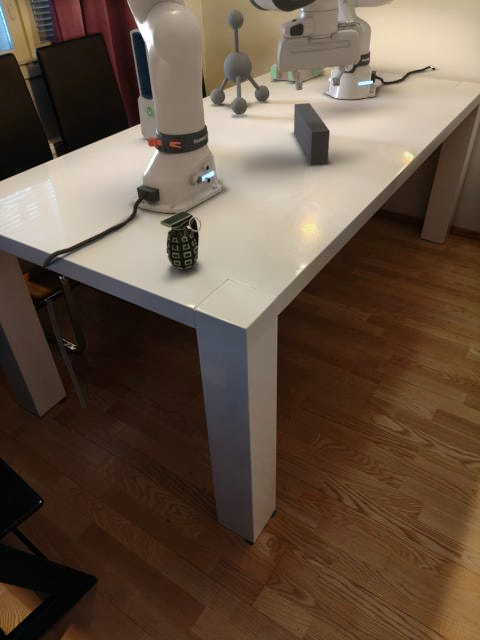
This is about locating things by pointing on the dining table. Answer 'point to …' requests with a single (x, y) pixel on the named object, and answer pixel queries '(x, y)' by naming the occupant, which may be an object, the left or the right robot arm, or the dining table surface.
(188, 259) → the grenade
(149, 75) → the electronic device
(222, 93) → the molecular model
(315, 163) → the bar
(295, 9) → the left robot arm
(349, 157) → the dining table surface
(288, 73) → the grey green flat case
